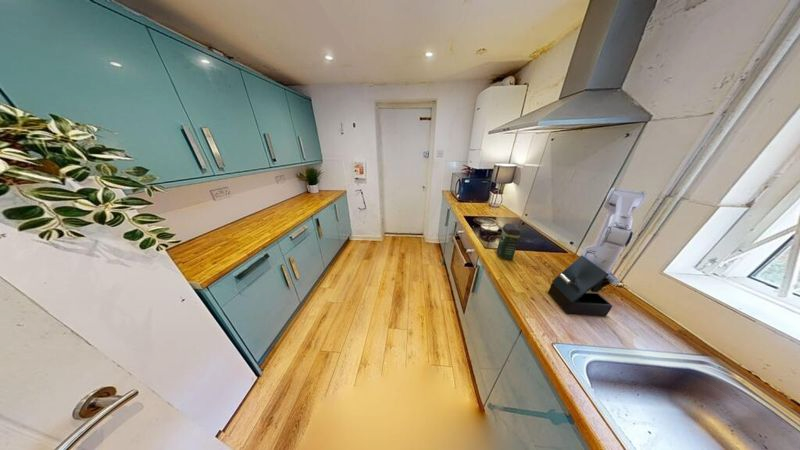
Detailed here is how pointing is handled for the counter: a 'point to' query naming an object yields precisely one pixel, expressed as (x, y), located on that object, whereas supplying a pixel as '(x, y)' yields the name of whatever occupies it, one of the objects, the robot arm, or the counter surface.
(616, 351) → the counter surface
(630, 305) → the counter surface
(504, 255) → the coffee jar
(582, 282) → the caddy lid
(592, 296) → the block
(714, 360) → the counter surface
